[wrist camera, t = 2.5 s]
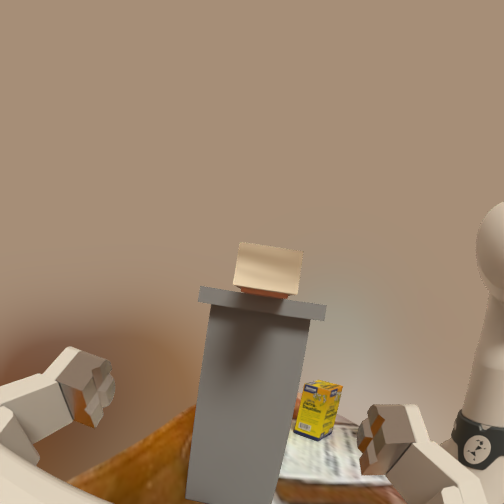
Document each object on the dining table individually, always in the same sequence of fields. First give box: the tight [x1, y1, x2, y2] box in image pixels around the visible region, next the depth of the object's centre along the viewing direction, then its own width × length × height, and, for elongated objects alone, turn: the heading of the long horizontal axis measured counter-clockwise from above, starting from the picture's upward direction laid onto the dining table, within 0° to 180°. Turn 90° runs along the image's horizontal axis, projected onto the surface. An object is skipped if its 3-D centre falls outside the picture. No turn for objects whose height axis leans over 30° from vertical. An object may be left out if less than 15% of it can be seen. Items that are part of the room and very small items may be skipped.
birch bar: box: [233, 242, 303, 299], centre depth 32 cm, size 26×4×3 cm, turn 178°
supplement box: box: [294, 380, 343, 441], centre depth 55 cm, size 6×6×11 cm
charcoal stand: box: [185, 286, 326, 504], centre depth 36 cm, size 18×12×26 cm, turn 178°
